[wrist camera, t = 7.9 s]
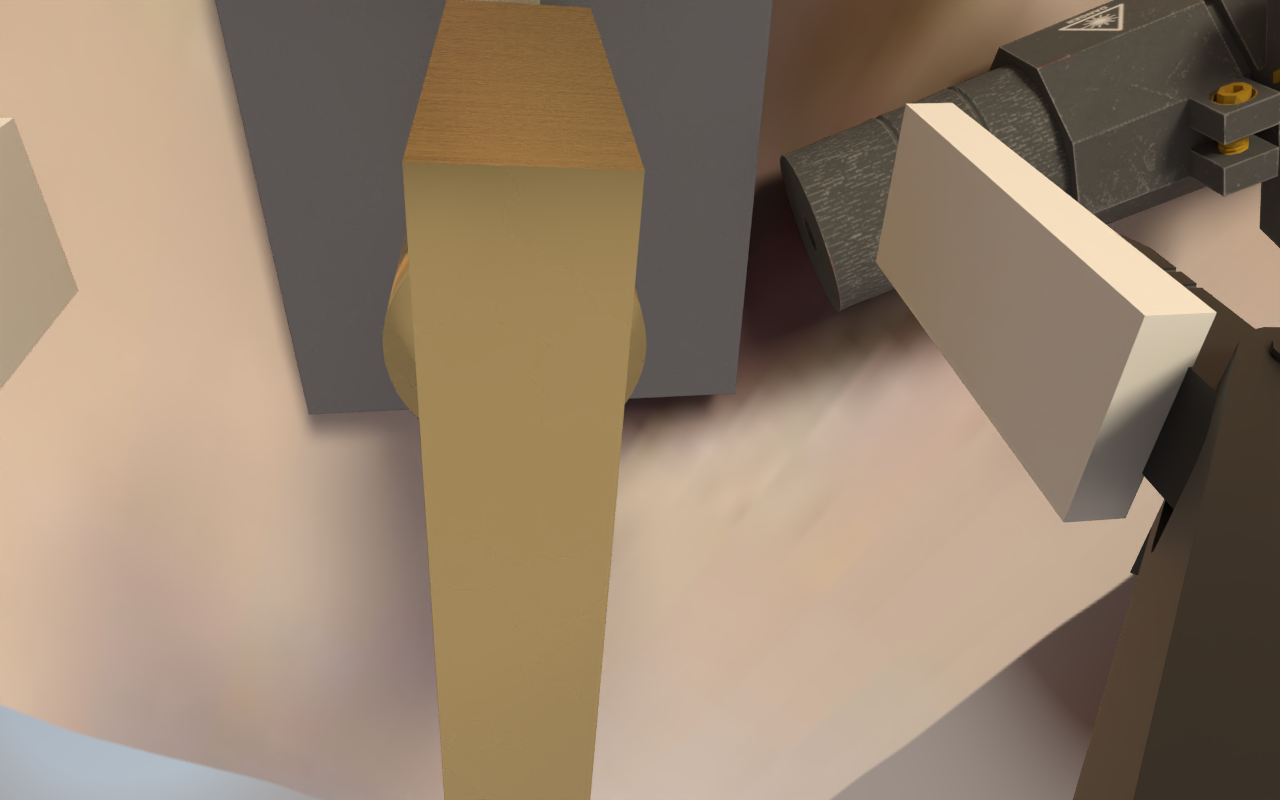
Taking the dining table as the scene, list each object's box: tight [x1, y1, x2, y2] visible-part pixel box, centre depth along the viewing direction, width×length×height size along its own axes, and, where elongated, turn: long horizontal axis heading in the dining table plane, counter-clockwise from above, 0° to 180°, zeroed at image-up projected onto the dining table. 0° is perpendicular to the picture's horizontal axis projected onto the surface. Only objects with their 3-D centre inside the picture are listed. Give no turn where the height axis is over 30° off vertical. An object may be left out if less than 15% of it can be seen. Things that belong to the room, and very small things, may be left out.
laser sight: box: [780, 0, 1280, 311], centre depth 28 cm, size 10×22×10 cm, turn 111°
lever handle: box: [383, 0, 646, 800], centre depth 20 cm, size 6×16×13 cm, turn 175°
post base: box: [215, 0, 773, 414], centre depth 29 cm, size 16×16×7 cm
